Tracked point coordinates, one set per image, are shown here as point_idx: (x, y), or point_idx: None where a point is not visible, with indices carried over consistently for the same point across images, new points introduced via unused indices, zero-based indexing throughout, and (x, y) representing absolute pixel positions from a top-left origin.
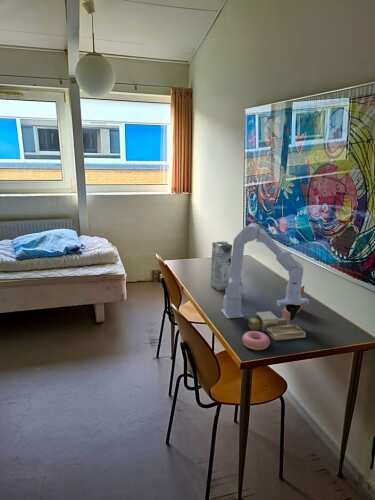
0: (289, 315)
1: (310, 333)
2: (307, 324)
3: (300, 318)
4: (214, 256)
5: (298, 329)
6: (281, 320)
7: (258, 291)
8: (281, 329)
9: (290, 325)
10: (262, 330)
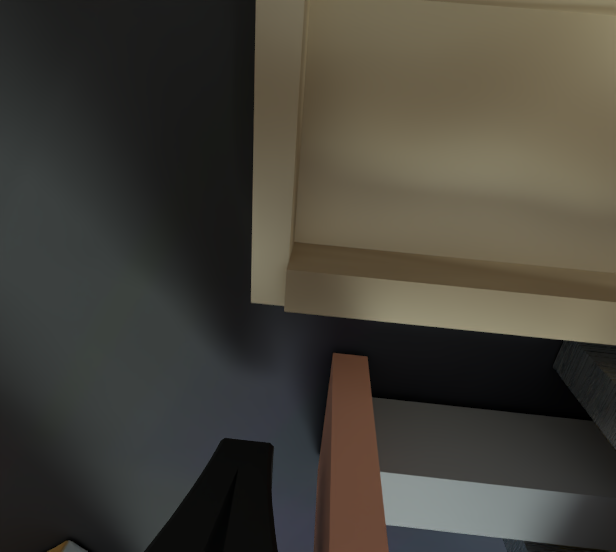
0: (354, 544)
1: (92, 58)
2: (23, 335)
3: (55, 470)
4: None
5: (297, 168)
6: (451, 475)
7: None
8: (596, 277)
9: (408, 302)
10: None
